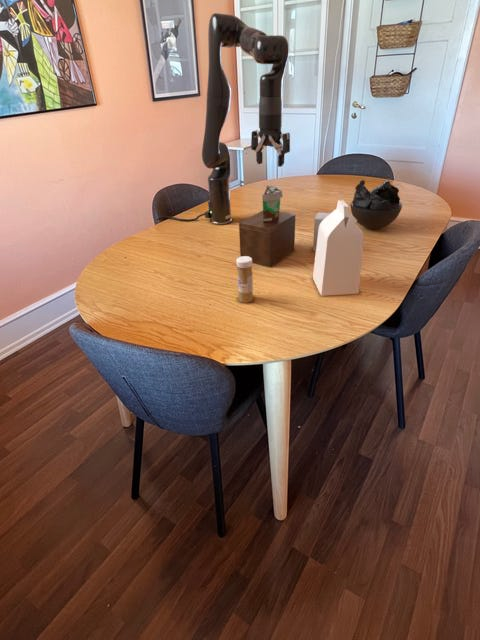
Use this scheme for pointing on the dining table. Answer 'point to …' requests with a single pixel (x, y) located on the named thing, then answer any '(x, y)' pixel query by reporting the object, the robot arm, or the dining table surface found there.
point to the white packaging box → (317, 221)
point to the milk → (338, 253)
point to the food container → (271, 204)
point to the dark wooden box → (267, 238)
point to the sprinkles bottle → (245, 279)
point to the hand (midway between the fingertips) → (269, 164)
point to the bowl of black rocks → (376, 205)
